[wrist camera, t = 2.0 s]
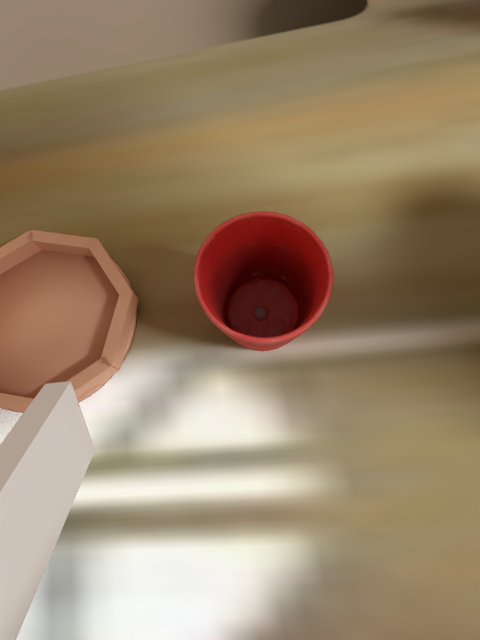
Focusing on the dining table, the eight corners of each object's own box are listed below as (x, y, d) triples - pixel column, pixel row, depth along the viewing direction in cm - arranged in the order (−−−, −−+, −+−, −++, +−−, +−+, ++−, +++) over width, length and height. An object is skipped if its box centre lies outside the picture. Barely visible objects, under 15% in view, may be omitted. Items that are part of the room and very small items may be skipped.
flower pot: (205, 367, 36) (187, 341, 26) (211, 264, 39) (197, 210, 30) (316, 369, 35) (337, 343, 26) (313, 265, 38) (330, 209, 29)
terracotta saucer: (170, 341, 37) (163, 334, 34) (5, 453, 34) (-17, 454, 31) (86, 217, 42) (75, 201, 39) (-62, 305, 39) (-86, 295, 36)
